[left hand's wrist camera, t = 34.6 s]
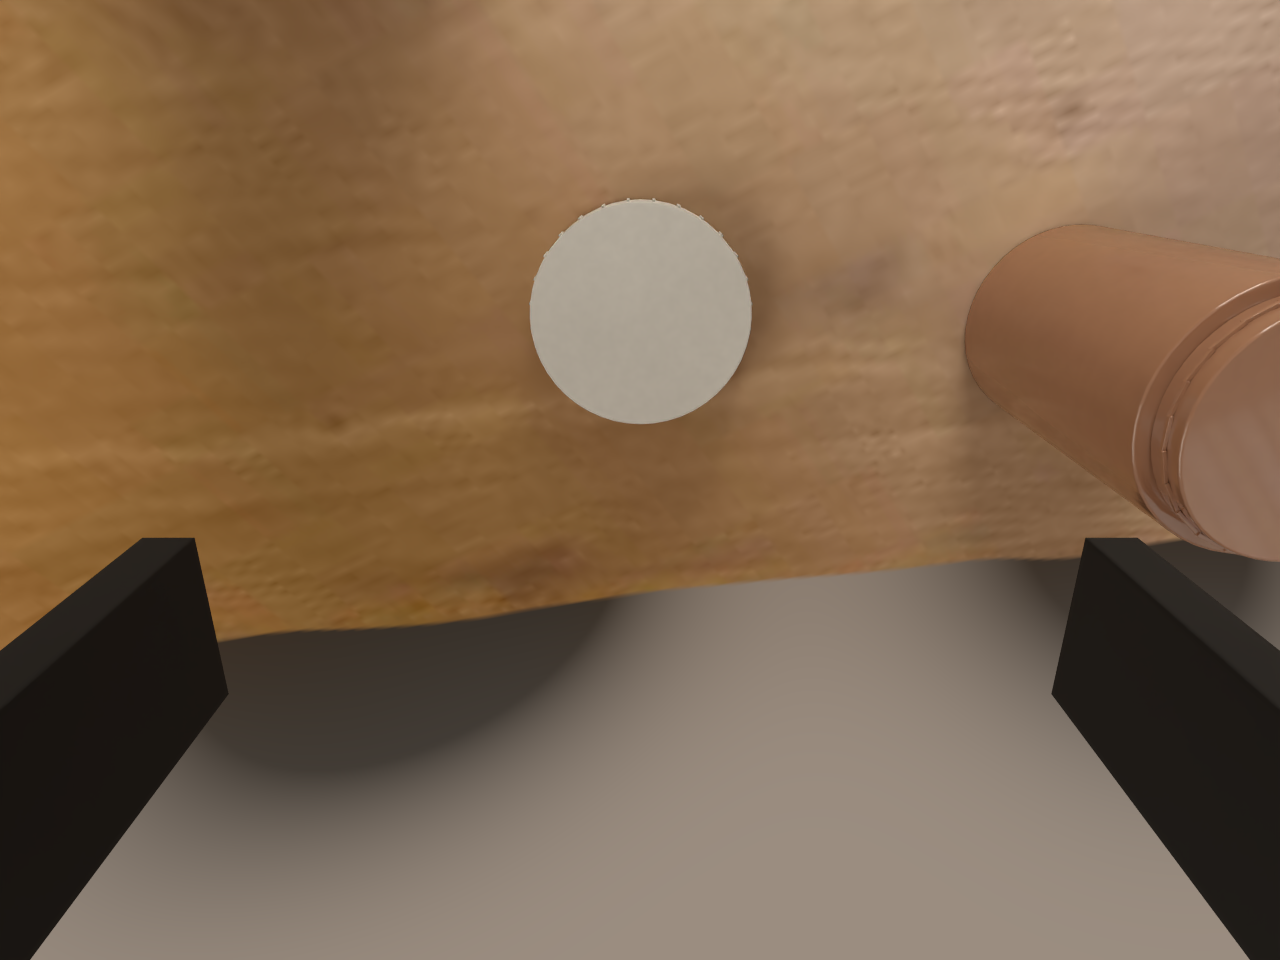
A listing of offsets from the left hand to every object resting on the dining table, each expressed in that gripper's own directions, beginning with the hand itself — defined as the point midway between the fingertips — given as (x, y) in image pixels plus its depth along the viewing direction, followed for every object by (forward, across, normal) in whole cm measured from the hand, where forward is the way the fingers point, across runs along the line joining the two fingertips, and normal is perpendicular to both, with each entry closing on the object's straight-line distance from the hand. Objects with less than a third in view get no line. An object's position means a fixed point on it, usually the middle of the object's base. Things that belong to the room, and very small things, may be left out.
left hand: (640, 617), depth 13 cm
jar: (+26, +19, -1) cm, 32 cm away
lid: (+25, 0, 0) cm, 25 cm away
